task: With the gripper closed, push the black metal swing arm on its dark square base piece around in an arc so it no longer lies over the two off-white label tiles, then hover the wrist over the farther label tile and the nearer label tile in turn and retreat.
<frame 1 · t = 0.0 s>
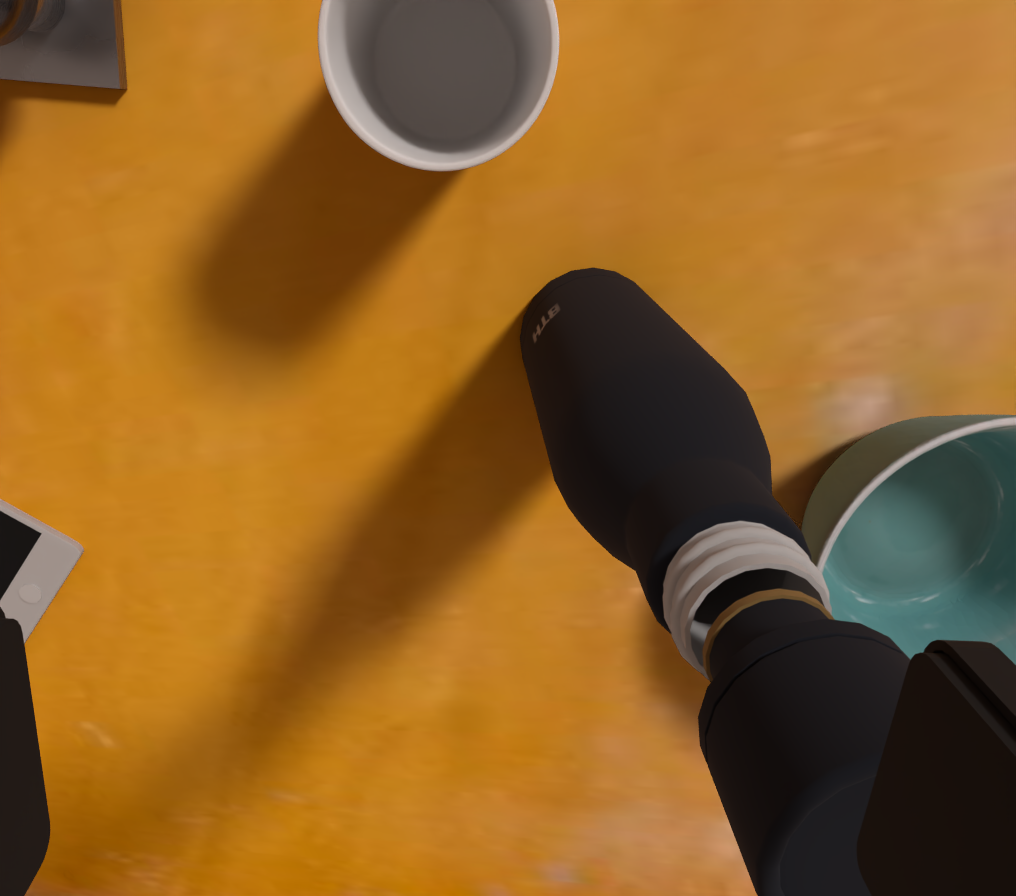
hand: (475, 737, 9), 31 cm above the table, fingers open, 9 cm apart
bowl: (897, 509, 44), on the table
black bottle: (588, 336, 40), on the table
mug: (476, 39, 35), on the table
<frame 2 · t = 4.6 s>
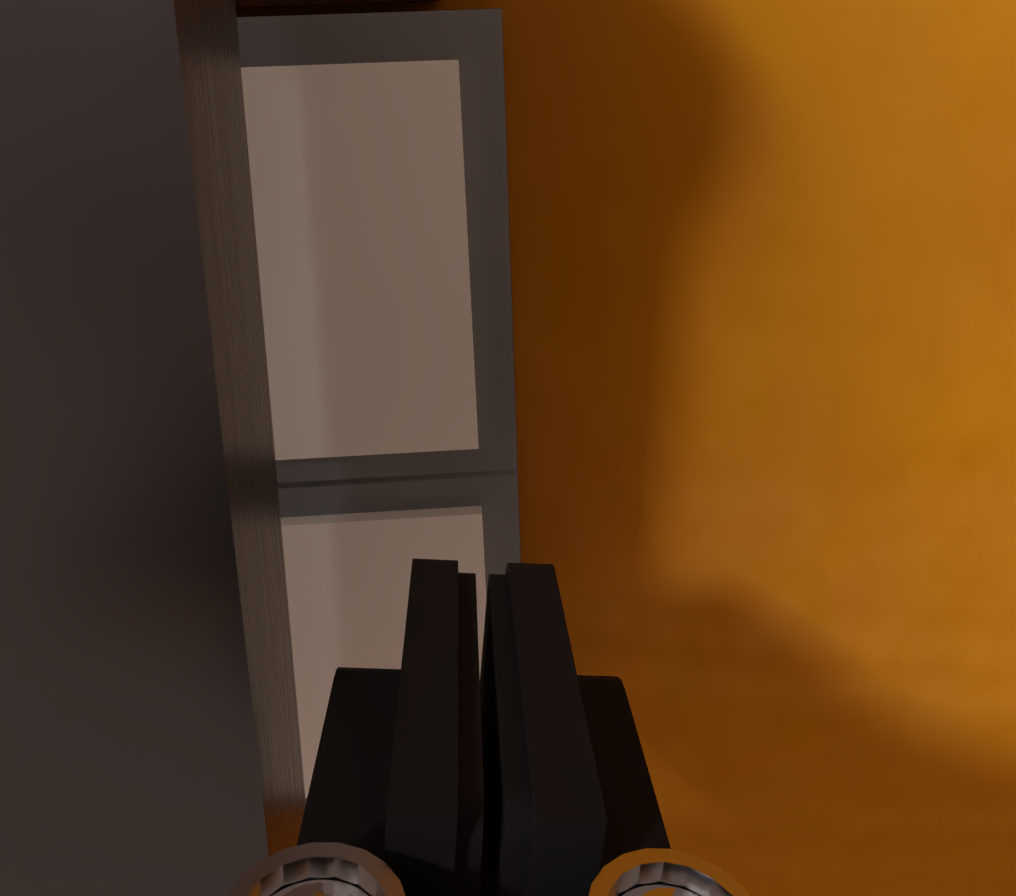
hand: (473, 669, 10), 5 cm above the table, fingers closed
label tile 1: (307, 633, 15), on the table
label tile 2: (255, 267, 13), on the table
swing arm: (82, 470, 8), point 6 cm above the table, hinge at 3.1°, touching gripper
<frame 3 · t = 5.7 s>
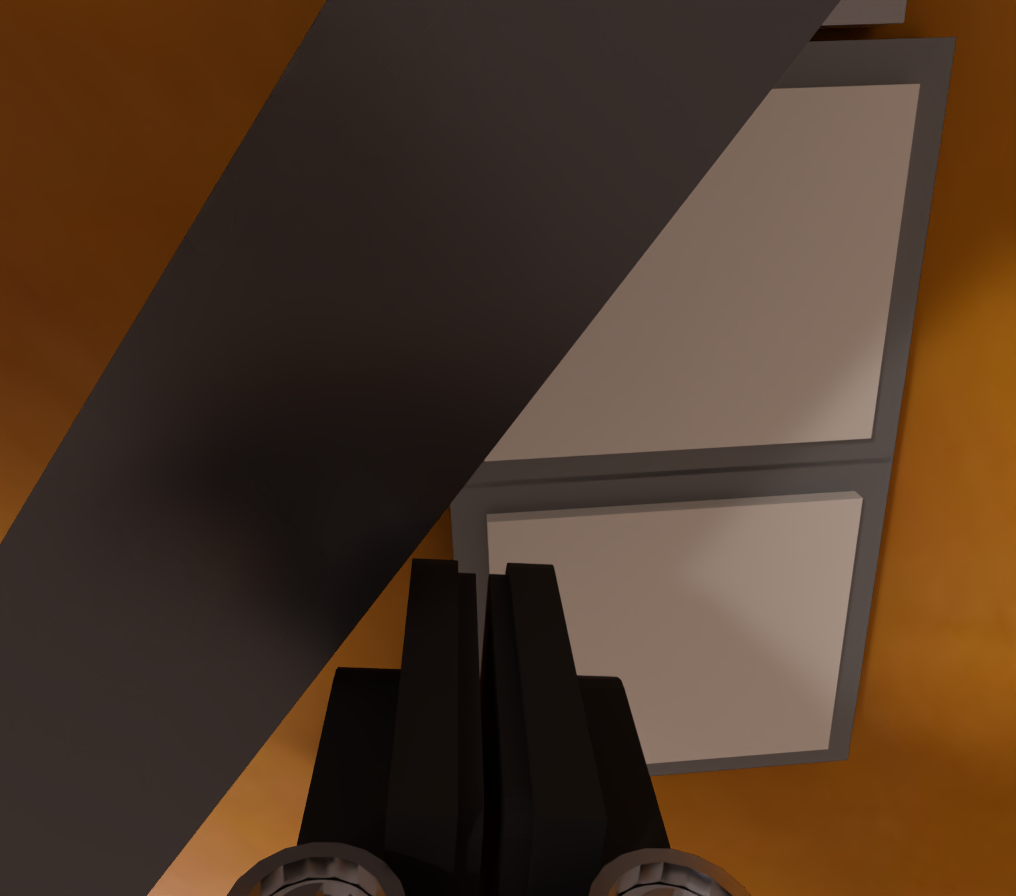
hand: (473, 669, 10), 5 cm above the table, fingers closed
label tile 1: (656, 610, 17), on the table
label tile 2: (670, 271, 14), on the table
swing arm: (353, 328, 8), point 6 cm above the table, hinge at 38.5°, touching gripper
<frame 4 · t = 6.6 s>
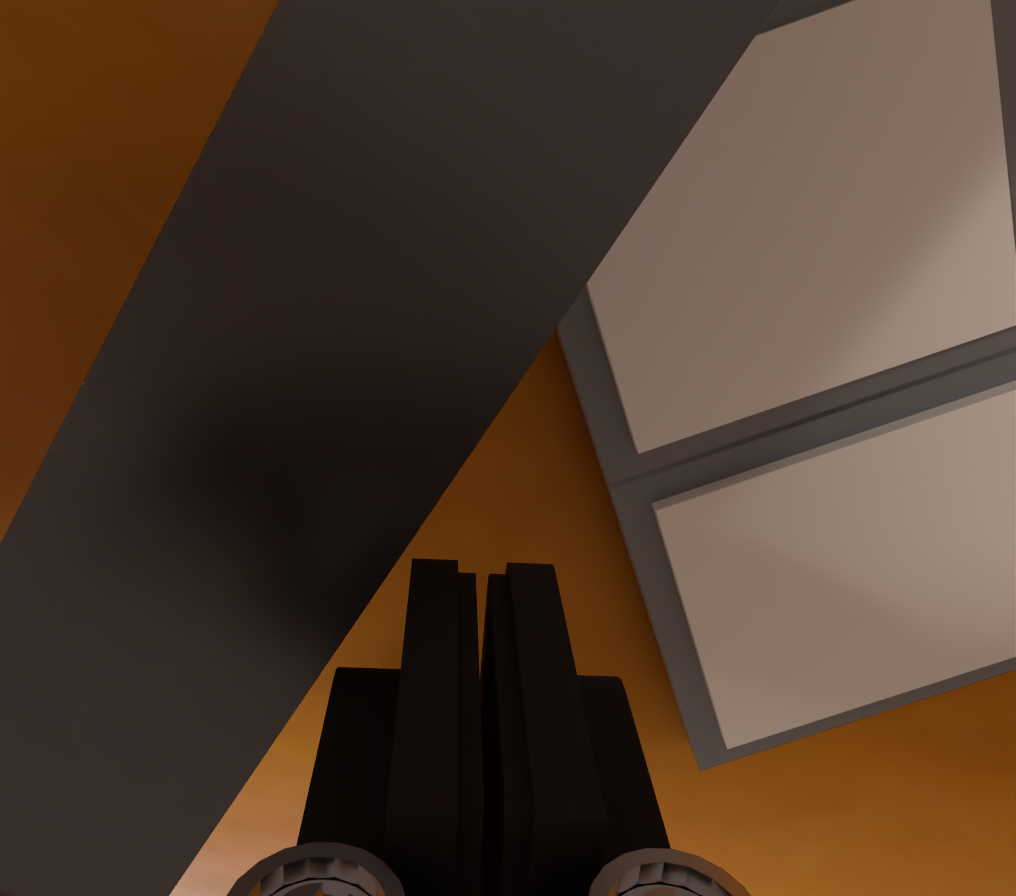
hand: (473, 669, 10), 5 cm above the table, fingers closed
label tile 1: (839, 551, 16), on the table
label tile 2: (769, 217, 14), on the table
swing arm: (354, 293, 8), point 6 cm above the table, hinge at 52.2°, touching gripper
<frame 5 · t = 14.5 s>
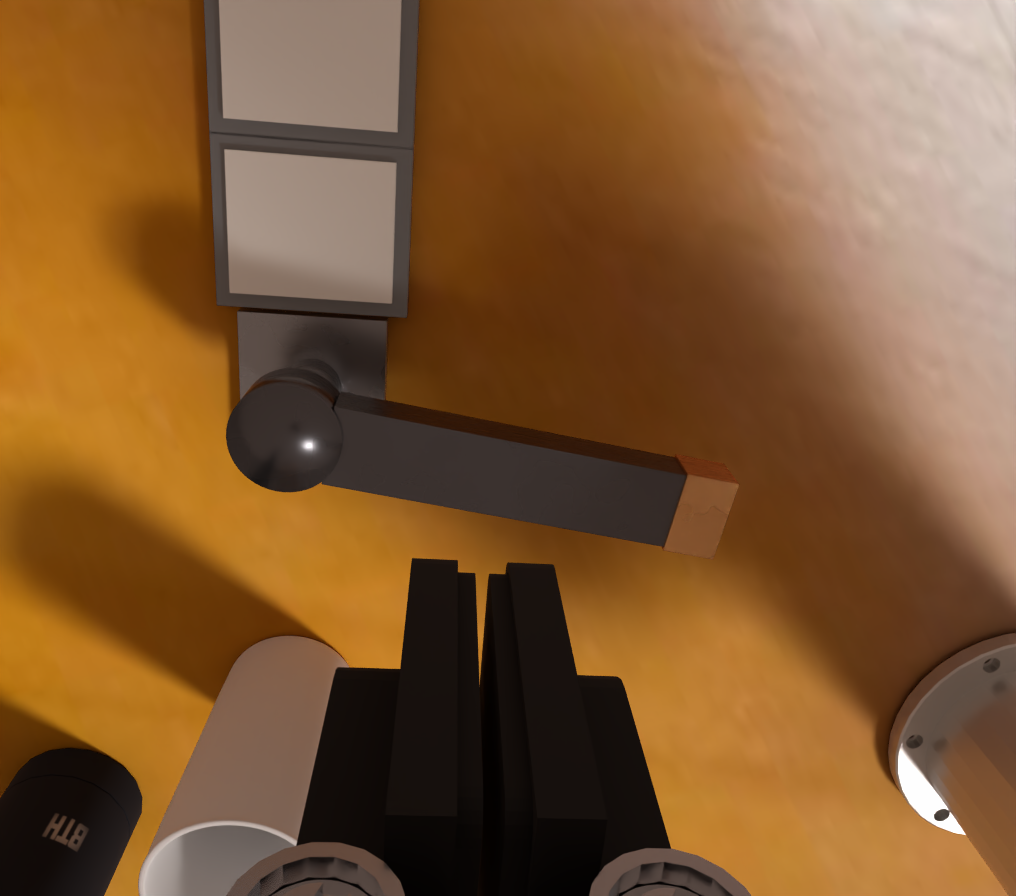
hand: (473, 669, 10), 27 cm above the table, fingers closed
label tile 1: (315, 47, 32), on the table
dark square base piece: (315, 381, 37), on the table
label tile 2: (315, 225, 34), on the table
black bottle: (80, 794, 44), on the table
swing arm: (485, 466, 32), point 6 cm above the table, hinge at 98.3°
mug: (316, 705, 43), on the table
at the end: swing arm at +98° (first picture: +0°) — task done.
